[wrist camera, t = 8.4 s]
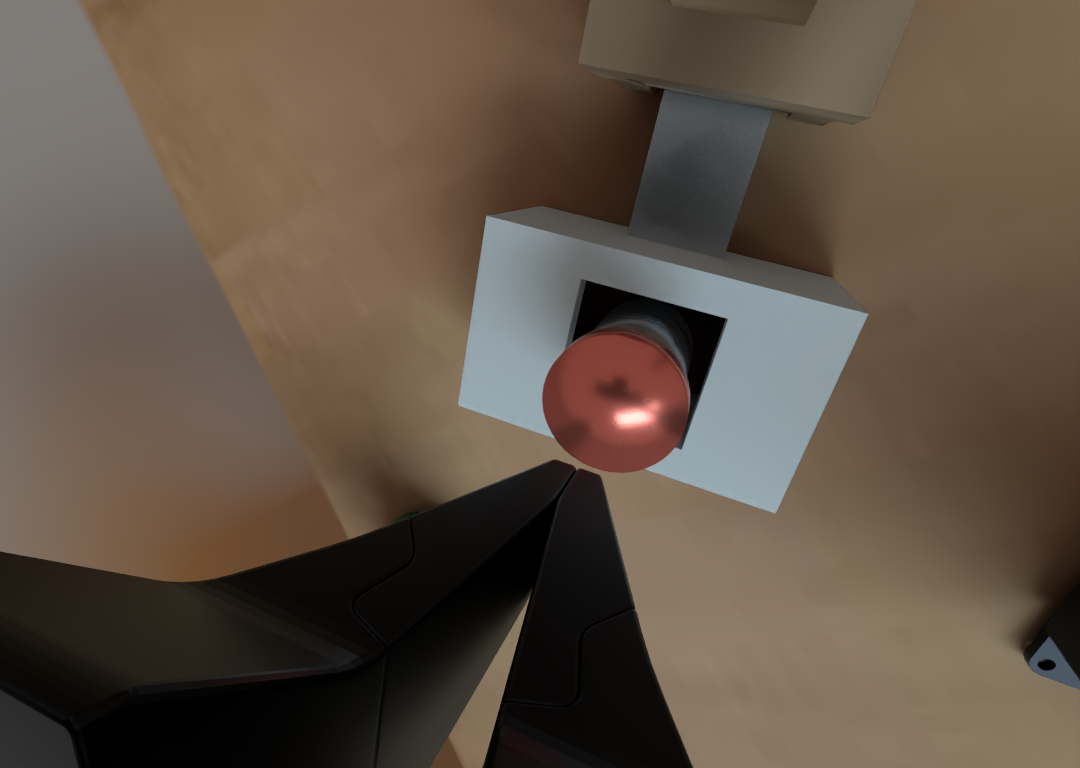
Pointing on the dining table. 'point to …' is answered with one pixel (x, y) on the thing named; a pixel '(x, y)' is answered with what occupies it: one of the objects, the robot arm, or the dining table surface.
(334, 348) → the dining table surface
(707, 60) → the carriage
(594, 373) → the plunger
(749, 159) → the rail
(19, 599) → the robot arm
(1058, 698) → the dining table surface
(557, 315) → the button housing
